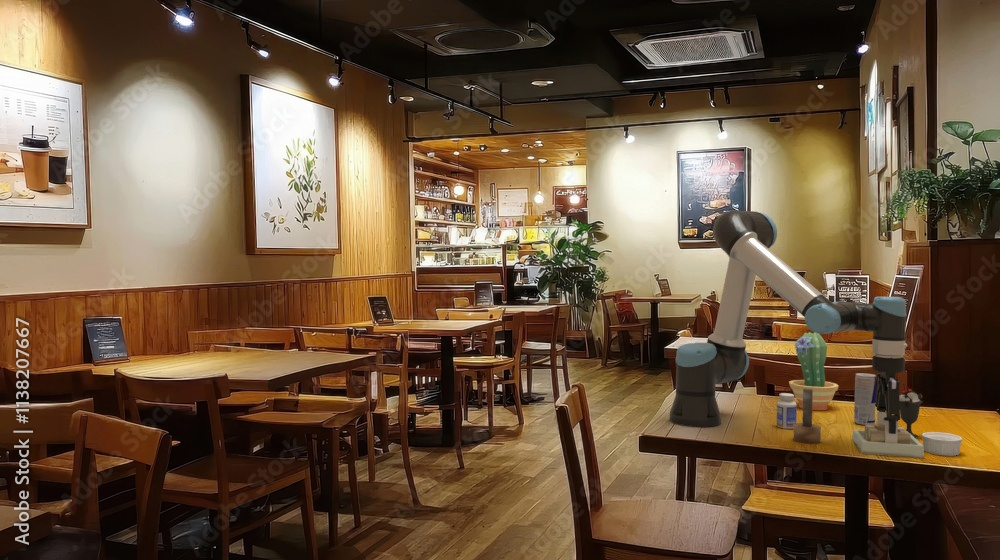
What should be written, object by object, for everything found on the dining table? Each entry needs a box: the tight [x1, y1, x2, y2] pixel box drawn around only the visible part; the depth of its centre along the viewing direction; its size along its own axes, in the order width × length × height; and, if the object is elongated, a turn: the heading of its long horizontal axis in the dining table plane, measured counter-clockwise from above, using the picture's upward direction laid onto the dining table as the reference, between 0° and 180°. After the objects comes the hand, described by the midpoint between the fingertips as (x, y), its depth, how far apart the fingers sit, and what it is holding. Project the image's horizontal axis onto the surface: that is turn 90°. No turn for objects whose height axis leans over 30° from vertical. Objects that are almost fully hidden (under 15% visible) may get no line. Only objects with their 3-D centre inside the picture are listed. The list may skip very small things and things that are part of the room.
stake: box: [793, 389, 822, 445], centre depth 199 cm, size 7×7×14 cm
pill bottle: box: [776, 392, 798, 430], centre depth 215 cm, size 5×5×10 cm
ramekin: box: [921, 431, 963, 457], centre depth 188 cm, size 9×9×4 cm
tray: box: [852, 429, 925, 459], centre depth 191 cm, size 14×14×3 cm
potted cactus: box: [788, 332, 840, 411], centre depth 243 cm, size 15×15×25 cm
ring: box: [864, 424, 911, 444], centre depth 191 cm, size 9×9×4 cm
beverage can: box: [853, 372, 877, 426], centre depth 220 cm, size 6×6×15 cm
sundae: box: [899, 383, 923, 439], centre depth 205 cm, size 7×7×15 cm
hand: (886, 440), depth 191 cm, fingers open, 10 cm apart
